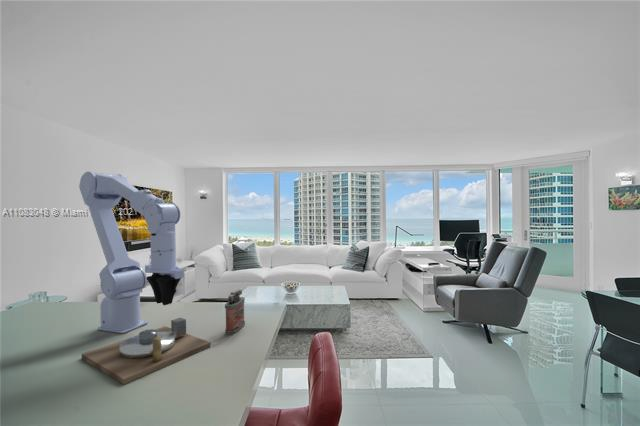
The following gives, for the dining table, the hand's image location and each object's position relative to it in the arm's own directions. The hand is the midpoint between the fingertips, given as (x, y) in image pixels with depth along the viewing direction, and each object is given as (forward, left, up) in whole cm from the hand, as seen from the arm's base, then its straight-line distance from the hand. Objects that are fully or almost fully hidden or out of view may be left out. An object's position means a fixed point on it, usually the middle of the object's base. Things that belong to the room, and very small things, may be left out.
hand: (164, 303), depth 81 cm
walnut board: (+4, -8, -8) cm, 12 cm away
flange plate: (+4, -7, -7) cm, 11 cm away
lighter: (+15, +10, -9) cm, 19 cm away
